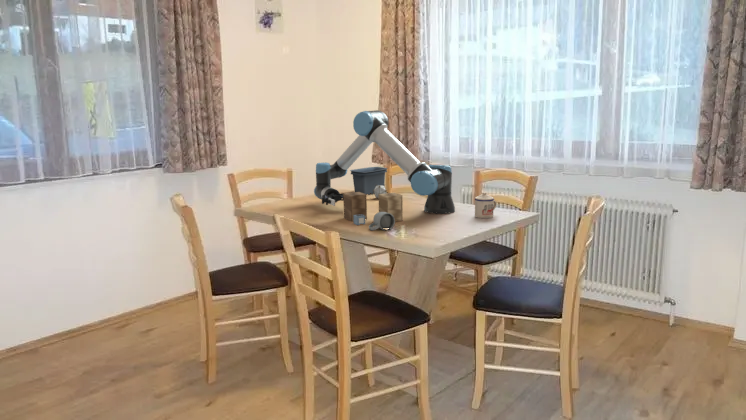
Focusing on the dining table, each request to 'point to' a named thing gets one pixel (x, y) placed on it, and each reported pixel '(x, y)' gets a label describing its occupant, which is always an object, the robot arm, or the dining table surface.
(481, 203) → the teacup with lid
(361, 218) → the letter cube
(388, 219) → the ceramic mug
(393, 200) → the oak cover
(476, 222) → the dining table surface
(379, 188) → the grey rounded piece
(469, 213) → the dining table surface
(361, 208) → the walnut cover
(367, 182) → the storage bin
